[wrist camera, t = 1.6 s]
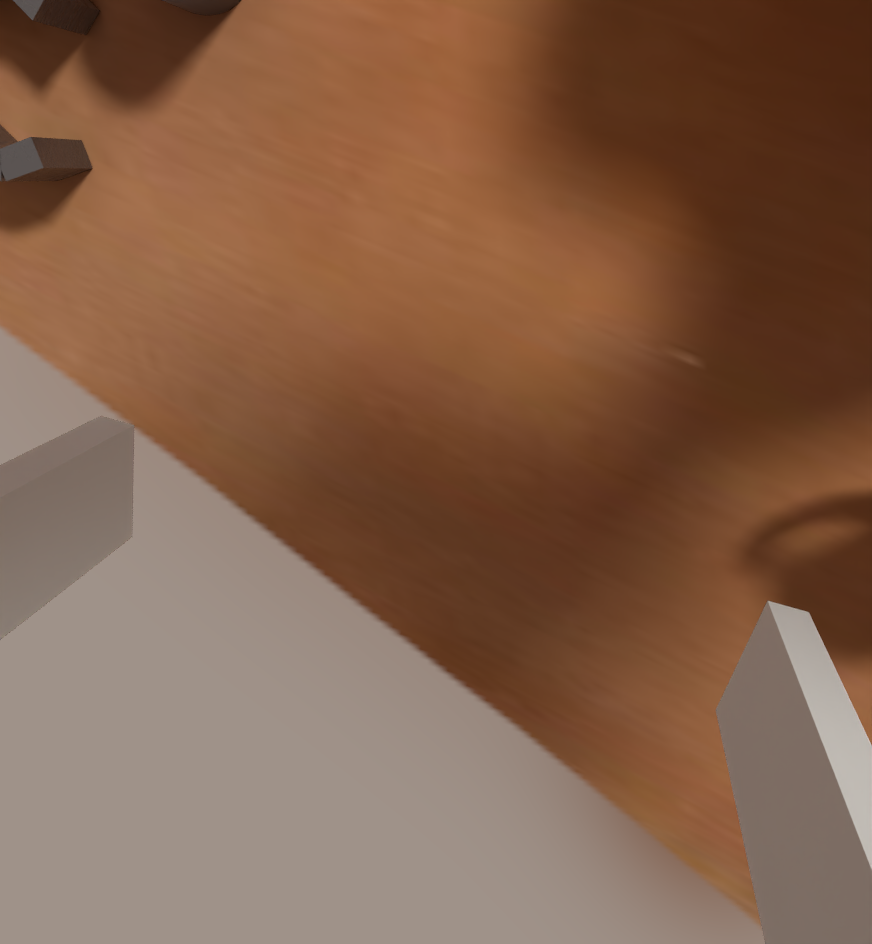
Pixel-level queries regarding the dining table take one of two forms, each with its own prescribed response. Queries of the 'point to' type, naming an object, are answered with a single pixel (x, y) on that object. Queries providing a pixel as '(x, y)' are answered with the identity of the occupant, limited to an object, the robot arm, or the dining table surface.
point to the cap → (205, 5)
